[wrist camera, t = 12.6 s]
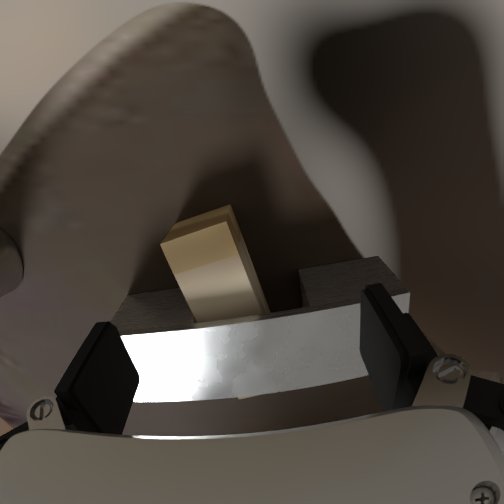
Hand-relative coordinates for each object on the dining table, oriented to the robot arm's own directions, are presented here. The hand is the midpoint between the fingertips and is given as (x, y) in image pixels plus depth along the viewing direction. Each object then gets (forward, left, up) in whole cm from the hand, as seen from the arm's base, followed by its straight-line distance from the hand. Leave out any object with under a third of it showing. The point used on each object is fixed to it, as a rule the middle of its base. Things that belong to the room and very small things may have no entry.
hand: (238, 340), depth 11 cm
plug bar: (-4, +1, -11) cm, 12 cm away
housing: (-6, 0, -11) cm, 13 cm away
